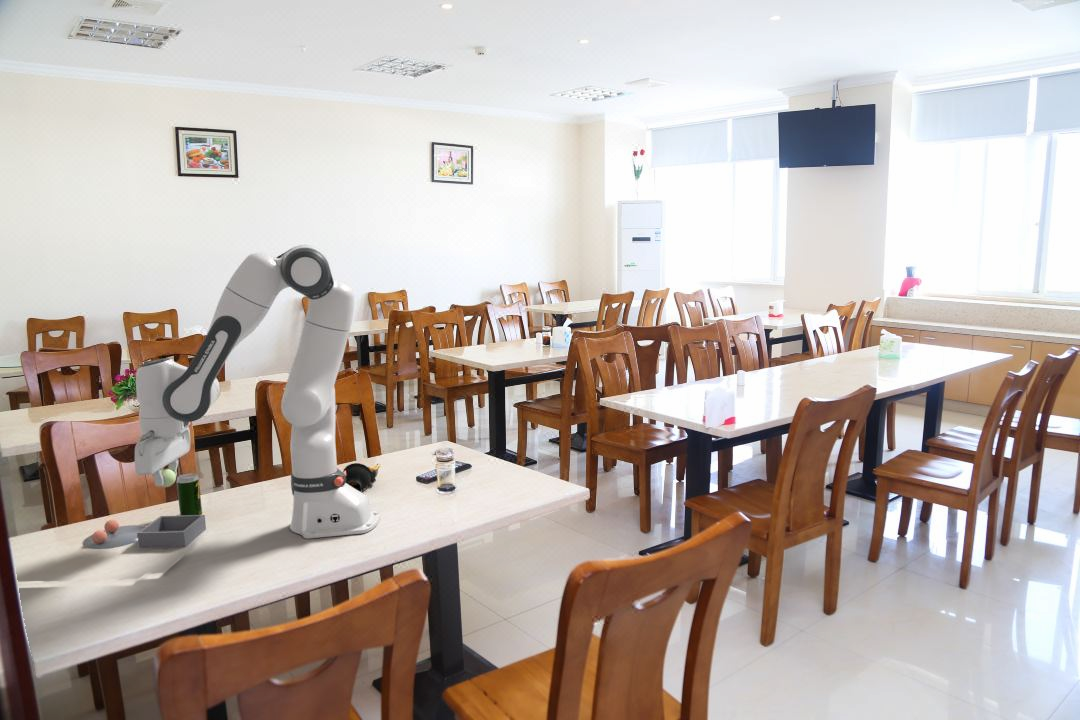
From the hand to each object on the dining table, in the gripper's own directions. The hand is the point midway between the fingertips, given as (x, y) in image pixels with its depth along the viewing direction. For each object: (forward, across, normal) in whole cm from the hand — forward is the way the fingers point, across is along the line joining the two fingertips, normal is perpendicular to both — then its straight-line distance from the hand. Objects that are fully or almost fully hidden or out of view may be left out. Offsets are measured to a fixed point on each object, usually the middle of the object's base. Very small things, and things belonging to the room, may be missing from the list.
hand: (166, 481), depth 184 cm
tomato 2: (+15, +5, +18) cm, 24 cm away
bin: (+16, 0, 0) cm, 16 cm away
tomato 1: (+15, -2, +17) cm, 22 cm away
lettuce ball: (+1, 0, 0) cm, 1 cm away
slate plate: (+16, +2, +15) cm, 22 cm away
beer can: (+16, +16, +3) cm, 23 cm away
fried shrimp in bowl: (+16, +41, -38) cm, 58 cm away
